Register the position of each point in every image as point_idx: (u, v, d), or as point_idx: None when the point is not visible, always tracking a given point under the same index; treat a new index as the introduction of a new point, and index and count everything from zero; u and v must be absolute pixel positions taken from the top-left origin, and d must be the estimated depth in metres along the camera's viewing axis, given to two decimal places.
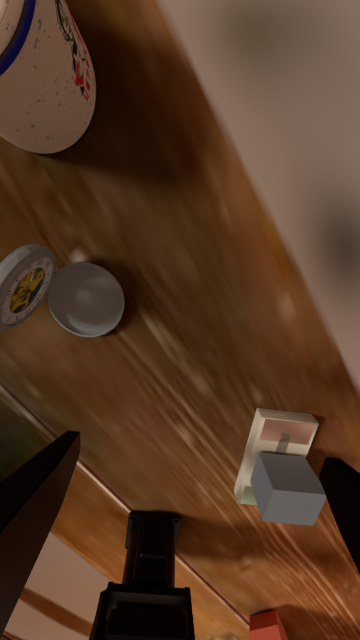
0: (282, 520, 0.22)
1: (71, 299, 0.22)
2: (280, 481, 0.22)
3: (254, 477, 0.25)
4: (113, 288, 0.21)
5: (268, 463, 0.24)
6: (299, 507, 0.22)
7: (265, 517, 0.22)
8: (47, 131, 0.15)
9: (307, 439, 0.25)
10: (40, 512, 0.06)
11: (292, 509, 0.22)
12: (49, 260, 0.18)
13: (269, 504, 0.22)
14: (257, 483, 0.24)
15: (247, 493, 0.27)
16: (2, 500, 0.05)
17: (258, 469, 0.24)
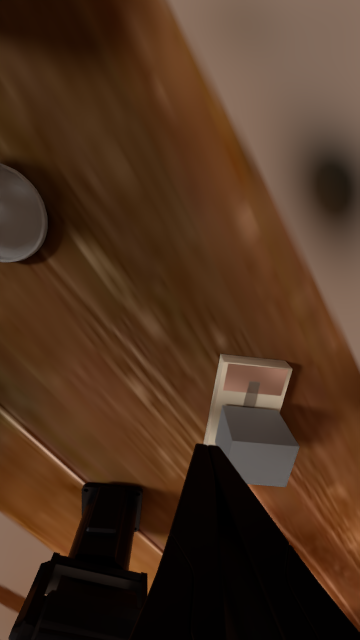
0: (247, 480, 0.18)
1: None
2: (243, 432, 0.18)
3: (218, 435, 0.21)
4: (32, 199, 0.17)
5: (231, 415, 0.20)
6: (266, 463, 0.18)
7: None
8: None
9: (280, 388, 0.21)
10: None
11: (258, 466, 0.18)
12: None
13: None
14: (220, 440, 0.20)
15: None
16: (198, 516, 0.06)
17: (221, 424, 0.21)
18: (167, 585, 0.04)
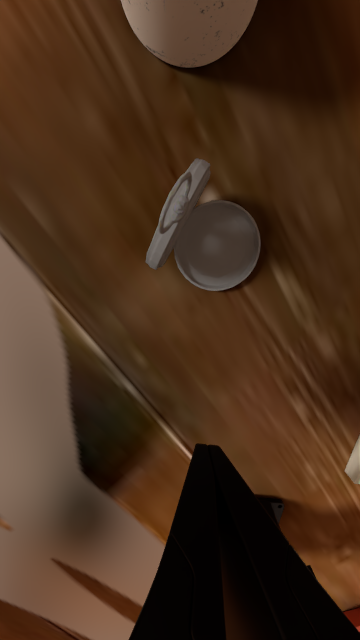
0: None
1: (195, 248, 0.19)
2: None
3: None
4: (246, 233, 0.19)
5: None
6: None
7: None
8: (225, 20, 0.13)
9: None
10: None
11: None
12: None
13: None
14: None
15: None
16: (197, 517, 0.06)
17: None
18: (167, 585, 0.04)
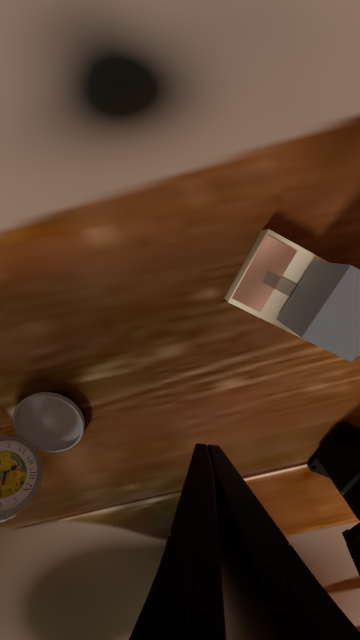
0: None
1: (50, 430, 0.24)
2: (303, 319, 0.16)
3: None
4: (44, 397, 0.23)
5: (287, 318, 0.17)
6: (353, 309, 0.15)
7: (347, 357, 0.16)
8: None
9: (288, 248, 0.18)
10: None
11: (352, 319, 0.15)
12: None
13: (326, 347, 0.15)
14: None
15: None
16: (197, 517, 0.06)
17: None
18: (167, 585, 0.04)
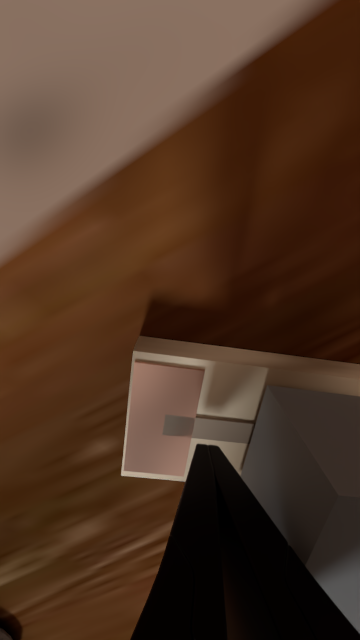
0: None
1: None
2: None
3: None
4: None
5: None
6: None
7: None
8: None
9: (186, 370, 0.09)
10: None
11: None
12: None
13: None
14: None
15: None
16: (198, 517, 0.06)
17: None
18: (168, 585, 0.04)
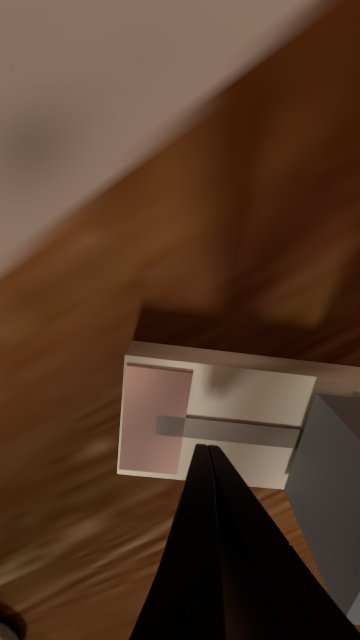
0: None
1: None
2: (333, 561, 0.07)
3: None
4: None
5: (301, 511, 0.09)
6: None
7: None
8: None
9: (175, 373, 0.09)
10: None
11: None
12: None
13: None
14: None
15: None
16: (197, 516, 0.06)
17: None
18: (167, 585, 0.04)
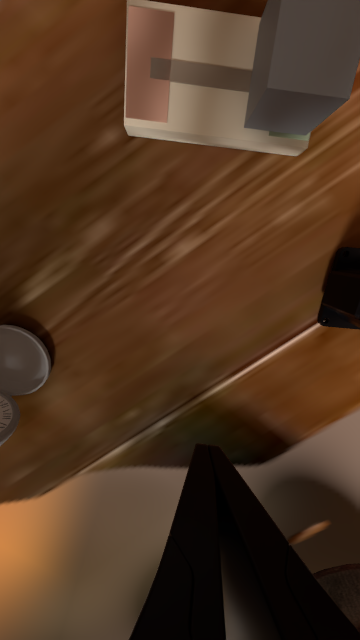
0: (355, 47, 0.11)
1: (20, 373, 0.22)
2: (264, 73, 0.12)
3: (290, 128, 0.14)
4: None
5: (251, 105, 0.14)
6: (321, 10, 0.10)
7: (339, 93, 0.11)
8: None
9: (163, 15, 0.14)
10: None
11: (325, 27, 0.11)
12: None
13: (305, 89, 0.11)
14: (293, 121, 0.14)
15: None
16: (198, 517, 0.06)
17: (269, 123, 0.14)
18: (167, 585, 0.04)
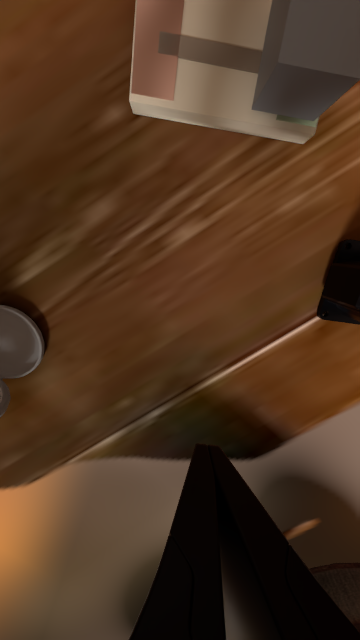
0: None
1: (12, 356, 0.21)
2: (275, 49, 0.11)
3: (298, 111, 0.14)
4: None
5: (260, 85, 0.13)
6: None
7: (351, 72, 0.11)
8: None
9: None
10: None
11: (339, 2, 0.10)
12: None
13: (316, 65, 0.11)
14: (302, 103, 0.13)
15: None
16: (198, 517, 0.06)
17: (277, 105, 0.14)
18: (167, 585, 0.04)
